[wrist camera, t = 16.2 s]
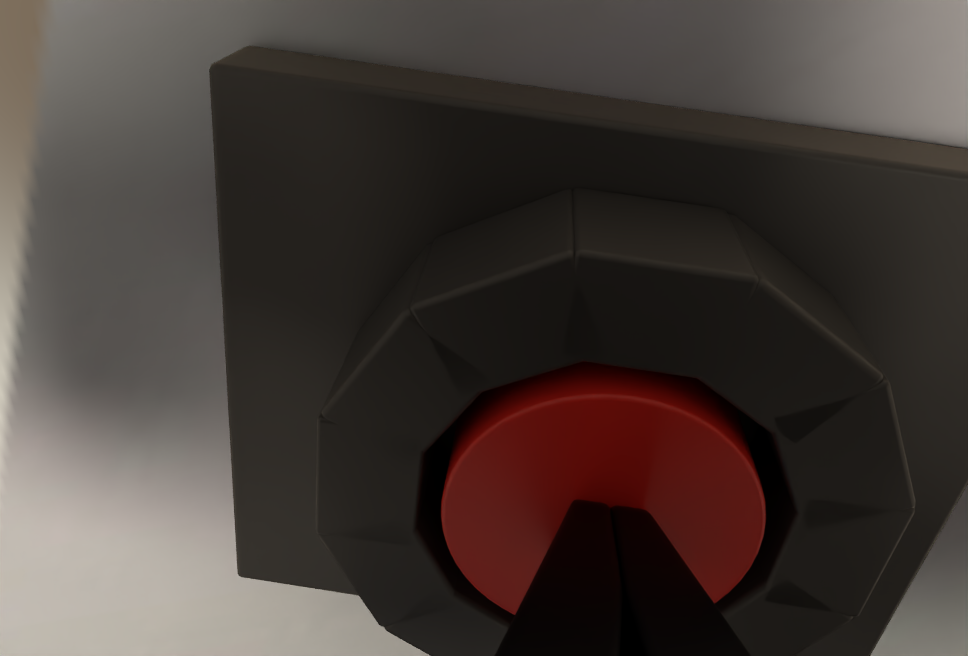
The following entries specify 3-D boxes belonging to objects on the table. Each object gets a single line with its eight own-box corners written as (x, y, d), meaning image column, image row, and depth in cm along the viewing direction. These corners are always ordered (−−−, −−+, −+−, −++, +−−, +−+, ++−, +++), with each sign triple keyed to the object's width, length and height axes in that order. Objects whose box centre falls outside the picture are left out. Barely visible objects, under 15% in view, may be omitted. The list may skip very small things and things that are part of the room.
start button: (774, 336, 9) (814, 425, 8) (696, 551, 11) (716, 657, 10) (474, 292, 9) (457, 371, 8) (446, 513, 11) (427, 612, 10)
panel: (1071, 162, 9) (1269, 270, 7) (838, 614, 13) (904, 792, 11) (244, 43, 9) (123, 103, 7) (261, 524, 13) (188, 678, 11)
